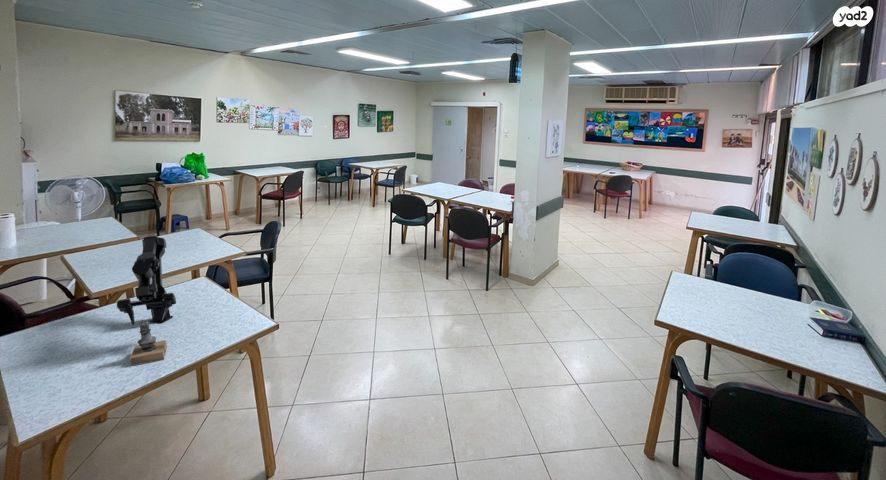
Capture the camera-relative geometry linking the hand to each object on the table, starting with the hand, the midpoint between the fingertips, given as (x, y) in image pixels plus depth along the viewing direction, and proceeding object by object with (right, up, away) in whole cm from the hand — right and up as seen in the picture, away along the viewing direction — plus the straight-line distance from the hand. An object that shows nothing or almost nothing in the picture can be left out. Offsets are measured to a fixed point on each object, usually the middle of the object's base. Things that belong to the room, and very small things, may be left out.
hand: (147, 322), depth 169 cm
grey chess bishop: (+3, -9, -3) cm, 10 cm away
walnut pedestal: (+3, -12, -3) cm, 13 cm away
